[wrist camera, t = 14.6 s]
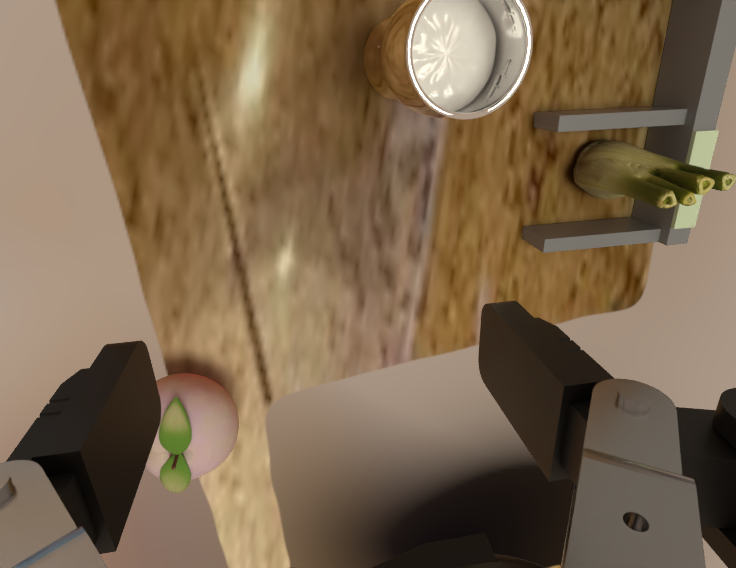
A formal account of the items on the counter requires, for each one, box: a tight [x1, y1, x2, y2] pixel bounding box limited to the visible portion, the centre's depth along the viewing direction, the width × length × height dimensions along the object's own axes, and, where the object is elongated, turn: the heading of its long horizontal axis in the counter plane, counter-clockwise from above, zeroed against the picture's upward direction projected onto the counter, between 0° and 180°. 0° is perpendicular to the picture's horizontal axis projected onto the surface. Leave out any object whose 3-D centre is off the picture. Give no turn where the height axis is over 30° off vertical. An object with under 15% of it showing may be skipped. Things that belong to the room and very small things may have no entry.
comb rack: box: [522, 0, 736, 253], centre depth 39 cm, size 21×13×5 cm, turn 2°
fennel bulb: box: [573, 140, 736, 209], centre depth 38 cm, size 6×5×12 cm
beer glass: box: [363, 0, 533, 120], centre depth 30 cm, size 7×7×15 cm
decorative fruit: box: [146, 373, 239, 493], centre depth 41 cm, size 9×8×10 cm
